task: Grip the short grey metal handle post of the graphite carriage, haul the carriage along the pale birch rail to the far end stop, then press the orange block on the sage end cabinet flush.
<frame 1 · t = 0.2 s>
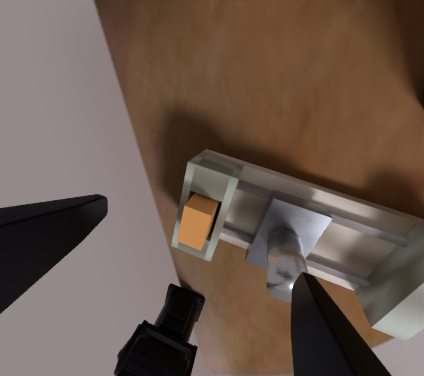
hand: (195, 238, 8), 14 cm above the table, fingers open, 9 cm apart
carriage: (284, 253, 17), point 6 cm above the table, slide at 1.5 cm
orange block: (198, 219, 18), point 6 cm above the table, slide at 2.0 cm
rail track: (293, 221, 22), on the table
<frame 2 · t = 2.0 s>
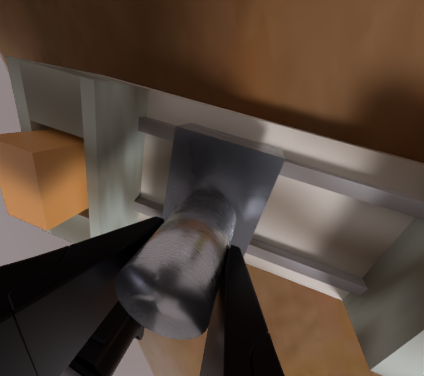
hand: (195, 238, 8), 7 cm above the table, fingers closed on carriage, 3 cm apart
carriage: (198, 233, 9), point 6 cm above the table, slide at 1.5 cm, touching gripper
orange block: (52, 176, 10), point 6 cm above the table, slide at 2.0 cm
rail track: (244, 190, 14), on the table
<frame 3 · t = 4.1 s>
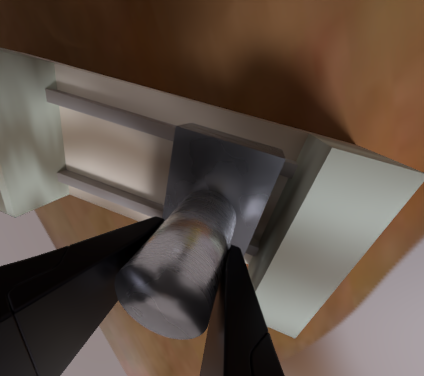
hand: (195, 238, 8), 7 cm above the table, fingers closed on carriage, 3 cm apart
carriage: (198, 232, 9), point 6 cm above the table, slide at -5.4 cm, touching gripper
rail track: (159, 162, 15), on the table
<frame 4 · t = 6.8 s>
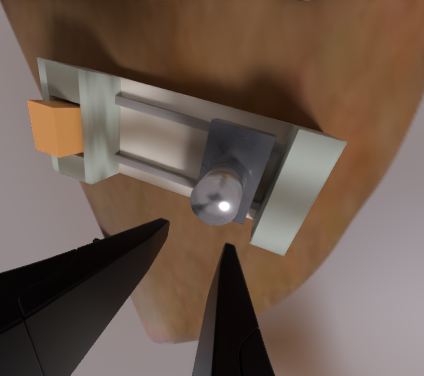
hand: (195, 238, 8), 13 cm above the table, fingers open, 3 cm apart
carriage: (225, 183, 14), point 6 cm above the table, slide at -5.4 cm
orange block: (61, 128, 17), point 6 cm above the table, slide at 2.0 cm
rail track: (188, 147, 21), on the table
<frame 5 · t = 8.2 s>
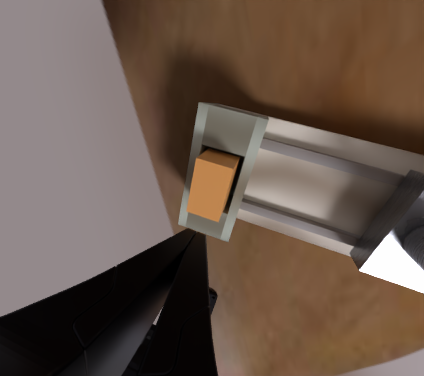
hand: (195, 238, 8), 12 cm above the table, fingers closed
orange block: (213, 183, 14), point 6 cm above the table, slide at 2.0 cm
rail track: (328, 191, 18), on the table
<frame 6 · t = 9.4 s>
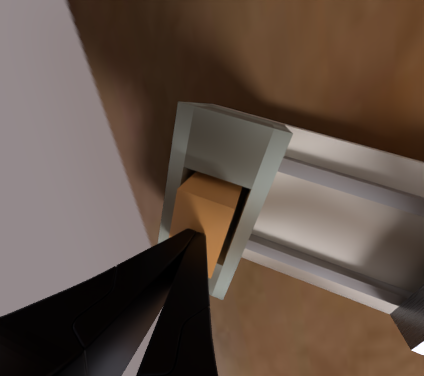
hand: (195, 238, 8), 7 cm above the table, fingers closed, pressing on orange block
orange block: (205, 219, 9), point 5 cm above the table, slide at 1.4 cm, touching gripper
rail track: (359, 226, 13), on the table
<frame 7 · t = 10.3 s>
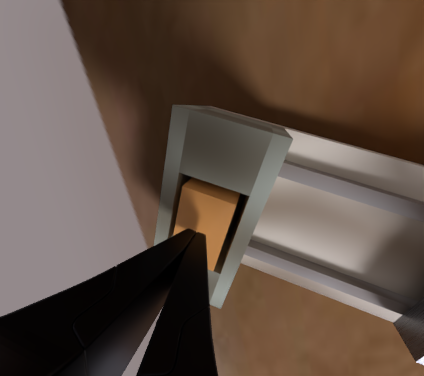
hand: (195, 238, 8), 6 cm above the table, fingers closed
orange block: (208, 215, 10), point 4 cm above the table, slide at 0.4 cm
rail track: (361, 231, 13), on the table
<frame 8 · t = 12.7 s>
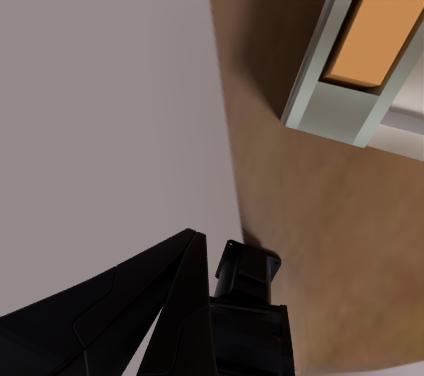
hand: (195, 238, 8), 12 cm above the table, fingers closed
orange block: (364, 40, 10), point 4 cm above the table, slide at 0.4 cm
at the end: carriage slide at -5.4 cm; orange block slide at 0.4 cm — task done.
